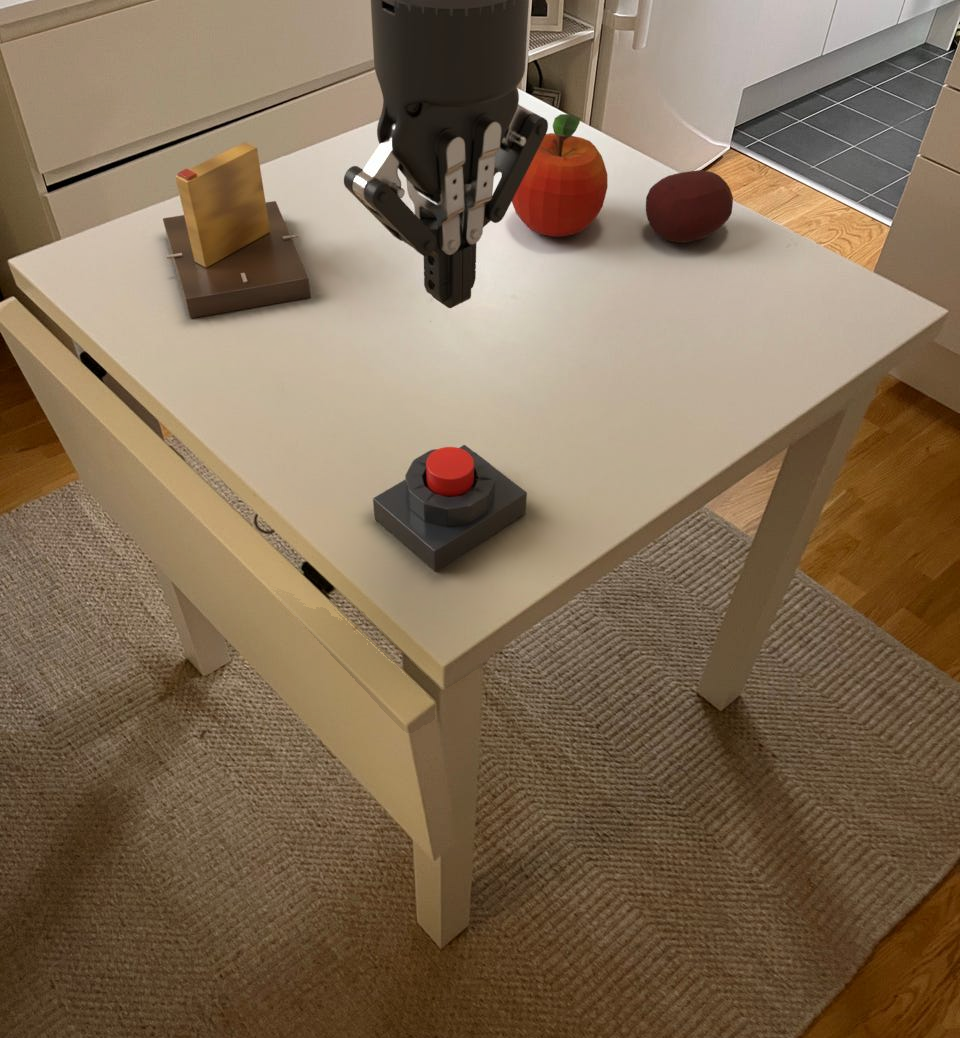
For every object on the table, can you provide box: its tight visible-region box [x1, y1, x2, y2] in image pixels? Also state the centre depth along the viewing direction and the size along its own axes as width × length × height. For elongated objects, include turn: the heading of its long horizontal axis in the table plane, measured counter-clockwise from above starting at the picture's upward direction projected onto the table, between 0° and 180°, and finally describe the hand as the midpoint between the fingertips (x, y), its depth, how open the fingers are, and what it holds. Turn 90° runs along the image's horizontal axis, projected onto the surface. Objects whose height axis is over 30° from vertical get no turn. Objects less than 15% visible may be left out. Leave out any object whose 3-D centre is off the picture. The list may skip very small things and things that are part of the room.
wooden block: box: [175, 141, 270, 268], centre depth 89 cm, size 8×2×8 cm, turn 141°
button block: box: [372, 444, 528, 572], centre depth 73 cm, size 9×7×4 cm
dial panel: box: [162, 200, 311, 319], centre depth 93 cm, size 14×12×2 cm
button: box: [426, 446, 474, 497], centre depth 71 cm, size 3×3×2 cm
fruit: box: [511, 113, 609, 238], centre depth 96 cm, size 10×10×10 cm
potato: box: [645, 169, 734, 243], centre depth 97 cm, size 8×9×6 cm
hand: (449, 298), depth 60 cm, fingers closed
